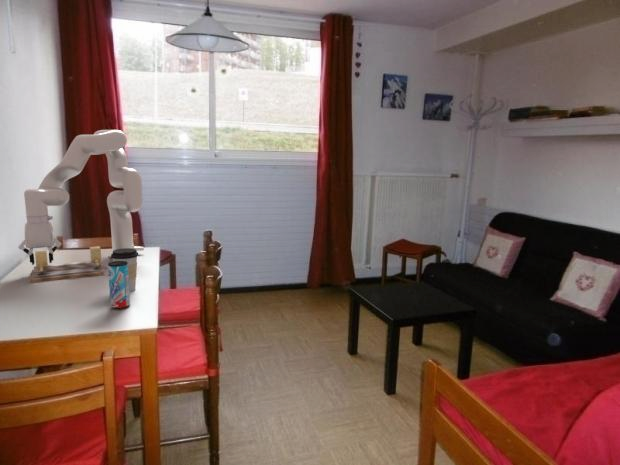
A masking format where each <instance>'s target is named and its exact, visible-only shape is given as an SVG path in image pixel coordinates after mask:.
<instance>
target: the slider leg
mask: <svg viewBox="0 0 620 465" xmlns="http://www.w3.org/2000/svg"><path fill="white" fill-rule="evenodd" d="M34 259H35V266H36V268H39V267H40V273H43V267H48V265H49V256H48V250H36V251H35V252H34Z"/></svg>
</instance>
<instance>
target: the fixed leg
mask: <svg viewBox="0 0 620 465" xmlns="http://www.w3.org/2000/svg"><path fill="white" fill-rule="evenodd" d="M89 252H90V253H89V254H90V255H89V257H90V261H91V263H92V262H96V268H98V267H99V265H98V262H99V263H101V262H102V250H101V246H99V245H98V246H89Z"/></svg>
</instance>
